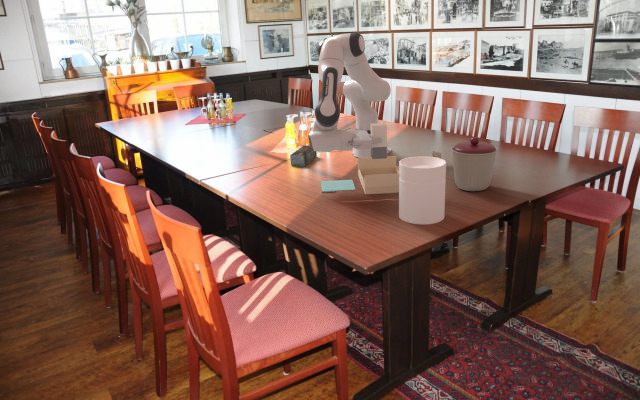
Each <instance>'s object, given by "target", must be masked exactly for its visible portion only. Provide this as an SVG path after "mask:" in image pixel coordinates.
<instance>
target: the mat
mask: <svg viewBox="0 0 640 400" xmlns="http://www.w3.org/2000/svg"><path fill="white" fill-rule="evenodd" d="M320 186H321V193H322V192H324V193H336V192H337V191H339V192H340V191H354V190H355V191H356V187H355V184H354V180H353V179H342V180H341V179H339V180H320Z"/></svg>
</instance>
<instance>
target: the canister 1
mask: <svg viewBox="0 0 640 400" xmlns="http://www.w3.org/2000/svg"><path fill="white" fill-rule="evenodd" d="M398 162H399V163H398V165H399V166H398V171H399V193H398V217H399V219H400V220H401V221H403V222H404V223H408V224H414V225H433V224H437V223H440V222H441V221H443V220H444V219H445V212H446V211H445V210H446V209H445V208H446V206H445V205H446V182H447V181H446V179H447V178H446V174H447V161H446V160H445V159H443V158H442V157H441V158H437V157H433V156H426V155H424V156H422V155H421V156H416V155H415V156H410V157H404V158H402V159H400V160H399V161H398Z"/></svg>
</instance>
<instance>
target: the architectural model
mask: <svg viewBox="0 0 640 400" xmlns="http://www.w3.org/2000/svg"><path fill="white" fill-rule="evenodd" d="M431 154H432V157H437V158H441V159H442V152H438V151H435V150H432V152H431Z"/></svg>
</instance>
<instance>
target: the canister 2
mask: <svg viewBox="0 0 640 400" xmlns="http://www.w3.org/2000/svg"><path fill="white" fill-rule="evenodd" d="M450 150H451V152H452V164H453V176H454V183H455V185H456V187H457V188H458V189H460V190H462V191H467V192H482V191H484V190H486V189H488V187H490V184H491V180H492V176H493V172H494V166H495V161H496V154H497V152H498V151H499V149H498V147H497V146H495V145H493V144H491V143H488V142H483V141H480V138H479V137H477V136H472V137H471V138H470V139H469V141H463V142H459V143H456V144H455V145H453V146H451V147H450Z"/></svg>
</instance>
